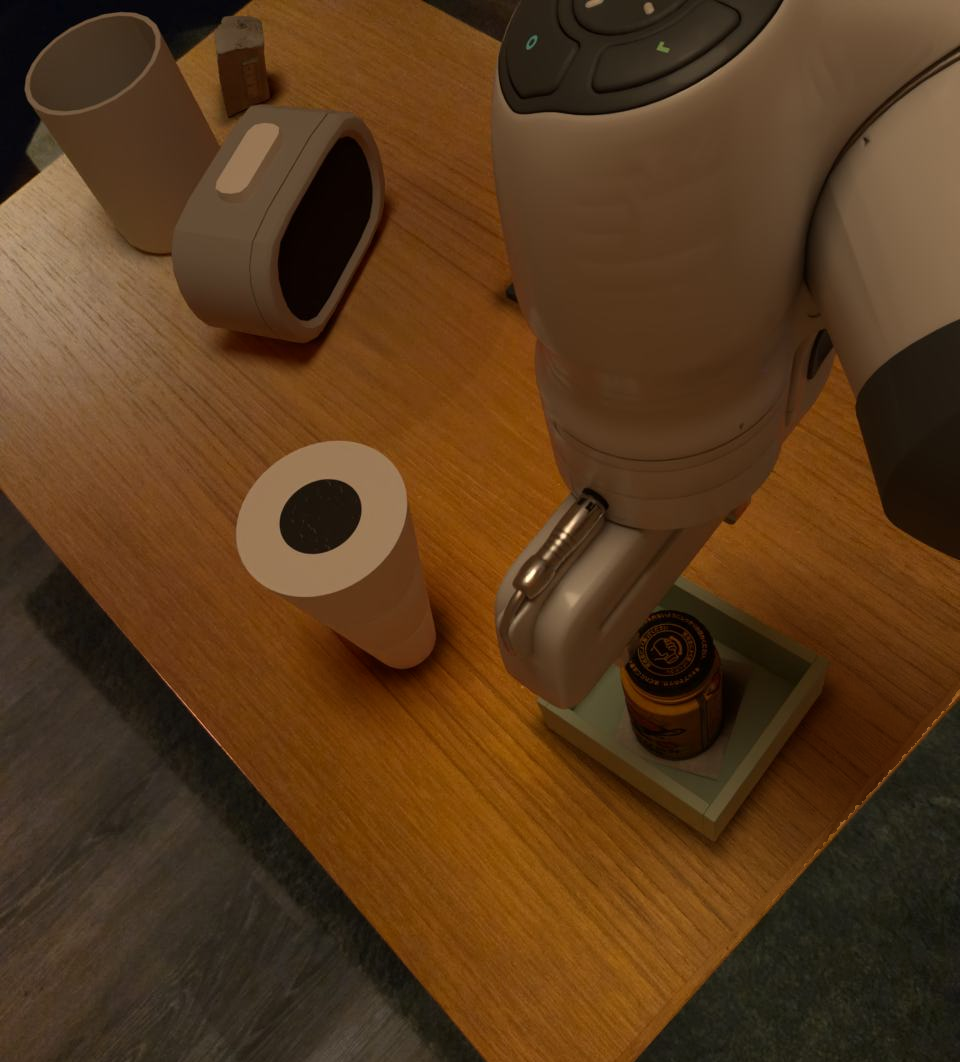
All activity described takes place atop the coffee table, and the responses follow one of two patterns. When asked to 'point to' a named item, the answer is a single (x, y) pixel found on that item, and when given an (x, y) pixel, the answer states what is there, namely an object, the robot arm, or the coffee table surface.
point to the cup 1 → (124, 122)
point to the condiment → (680, 695)
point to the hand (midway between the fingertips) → (674, 578)
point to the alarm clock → (280, 222)
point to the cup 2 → (341, 547)
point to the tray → (759, 730)
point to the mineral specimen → (241, 62)
